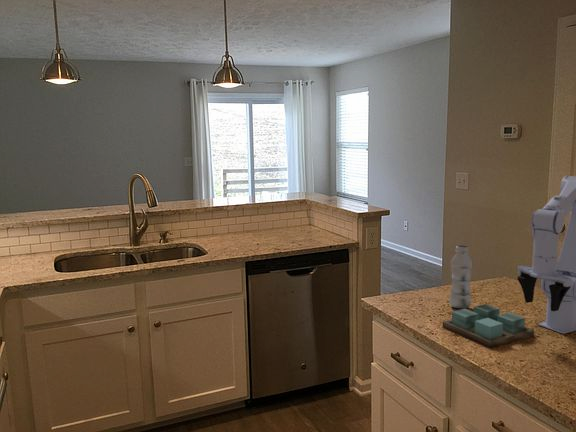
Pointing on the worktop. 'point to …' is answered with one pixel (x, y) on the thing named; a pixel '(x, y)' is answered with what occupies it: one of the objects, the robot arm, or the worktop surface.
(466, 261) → the plastic bottle
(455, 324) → the puzzle tray
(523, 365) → the worktop surface
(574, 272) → the robot arm
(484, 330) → the teal block
